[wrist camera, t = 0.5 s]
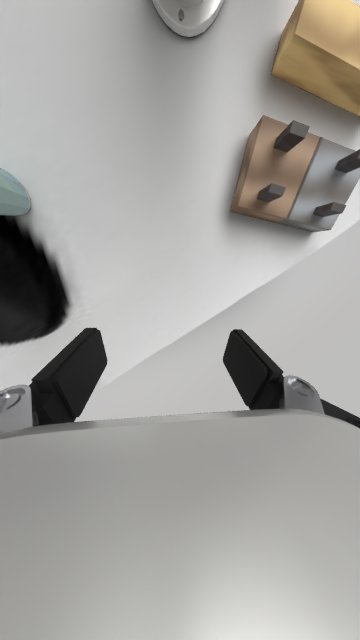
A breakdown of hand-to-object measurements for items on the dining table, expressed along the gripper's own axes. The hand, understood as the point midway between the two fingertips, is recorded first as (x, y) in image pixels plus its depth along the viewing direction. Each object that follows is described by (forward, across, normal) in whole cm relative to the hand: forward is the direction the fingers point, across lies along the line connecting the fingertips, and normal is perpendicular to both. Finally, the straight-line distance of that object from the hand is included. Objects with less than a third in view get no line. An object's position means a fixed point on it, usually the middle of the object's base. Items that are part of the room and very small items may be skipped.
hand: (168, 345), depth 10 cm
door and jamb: (+30, -27, -21) cm, 45 cm away
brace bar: (+30, -28, -36) cm, 55 cm away
